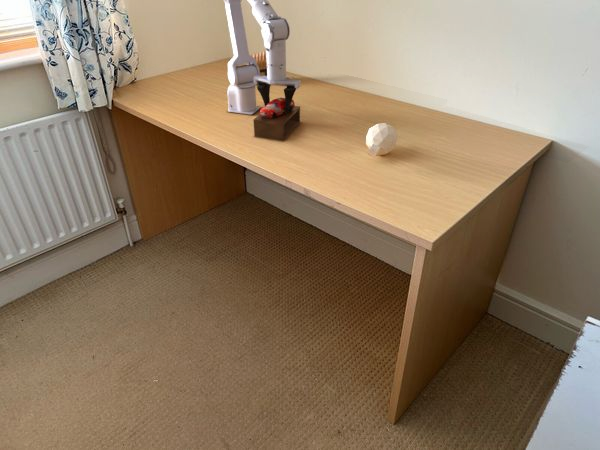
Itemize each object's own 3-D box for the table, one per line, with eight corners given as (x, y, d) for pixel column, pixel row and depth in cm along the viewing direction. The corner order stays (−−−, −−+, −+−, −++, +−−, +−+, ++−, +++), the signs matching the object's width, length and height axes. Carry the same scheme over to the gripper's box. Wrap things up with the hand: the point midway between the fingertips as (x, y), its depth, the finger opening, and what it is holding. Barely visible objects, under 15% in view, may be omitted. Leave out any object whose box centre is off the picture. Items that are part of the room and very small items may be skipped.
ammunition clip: (249, 85, 179) (247, 55, 172) (246, 84, 180) (244, 54, 173) (268, 80, 185) (267, 50, 178) (265, 79, 186) (264, 49, 179)
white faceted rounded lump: (367, 137, 131) (353, 157, 123) (378, 112, 124) (364, 131, 116) (393, 150, 129) (381, 171, 122) (406, 125, 123) (393, 146, 115)
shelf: (254, 136, 135) (253, 119, 132) (274, 119, 148) (273, 102, 145) (282, 140, 133) (282, 123, 130) (300, 122, 145) (300, 106, 142)
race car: (269, 120, 132) (269, 108, 129) (256, 116, 134) (256, 104, 132) (297, 109, 140) (297, 96, 137) (285, 105, 143) (284, 93, 140)
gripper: (248, 64, 128) (251, 109, 135) (294, 69, 124) (294, 115, 131) (258, 59, 133) (260, 102, 141) (302, 63, 129) (302, 107, 137)
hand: (277, 108), depth 136 cm, fingers closed on race car, 6 cm apart
